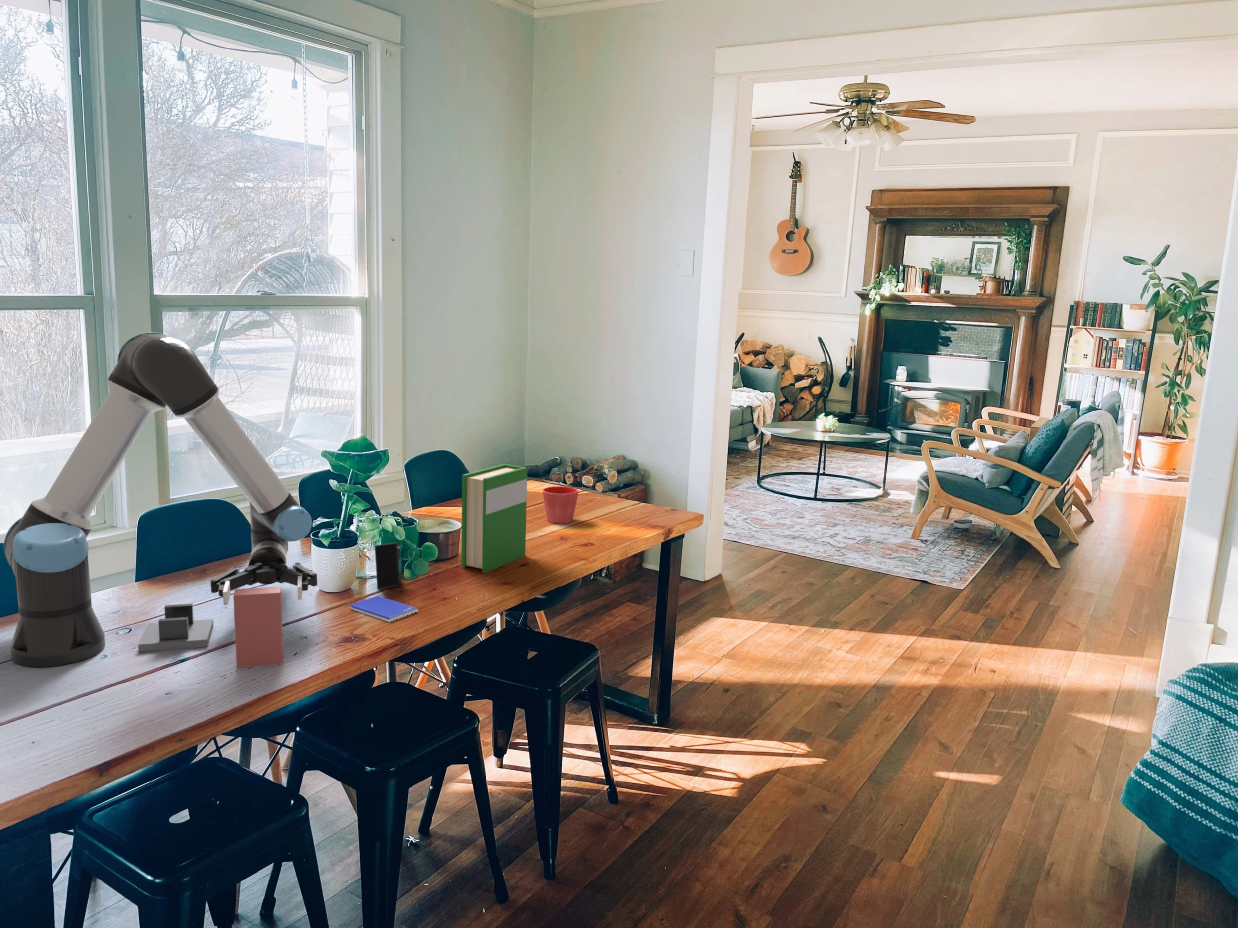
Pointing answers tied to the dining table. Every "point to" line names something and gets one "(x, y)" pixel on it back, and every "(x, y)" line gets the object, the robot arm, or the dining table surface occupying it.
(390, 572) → the speaker
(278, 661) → the red rectangular block
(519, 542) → the hardback book
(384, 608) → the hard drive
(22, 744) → the dining table surface
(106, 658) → the dining table surface
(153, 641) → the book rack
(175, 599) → the dining table surface
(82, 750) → the dining table surface
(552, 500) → the flower pot
